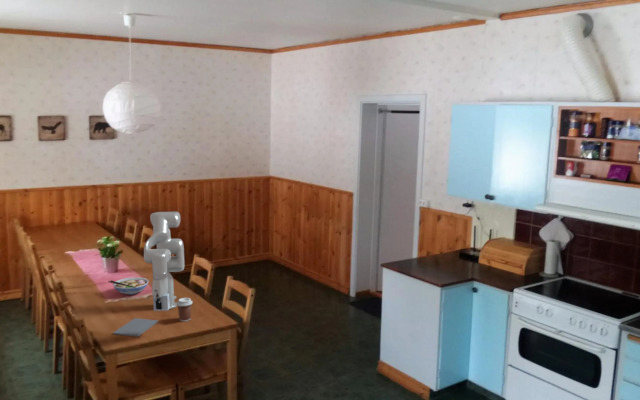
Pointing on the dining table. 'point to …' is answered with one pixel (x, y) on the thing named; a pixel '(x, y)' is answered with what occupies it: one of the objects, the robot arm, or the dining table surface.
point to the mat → (135, 327)
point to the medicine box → (163, 303)
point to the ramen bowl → (130, 285)
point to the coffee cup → (184, 309)
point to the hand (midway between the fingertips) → (161, 306)
